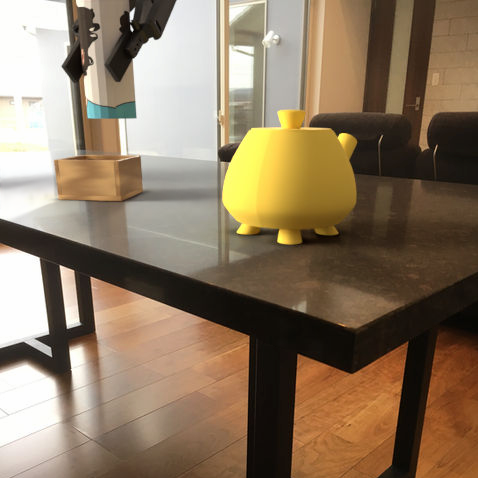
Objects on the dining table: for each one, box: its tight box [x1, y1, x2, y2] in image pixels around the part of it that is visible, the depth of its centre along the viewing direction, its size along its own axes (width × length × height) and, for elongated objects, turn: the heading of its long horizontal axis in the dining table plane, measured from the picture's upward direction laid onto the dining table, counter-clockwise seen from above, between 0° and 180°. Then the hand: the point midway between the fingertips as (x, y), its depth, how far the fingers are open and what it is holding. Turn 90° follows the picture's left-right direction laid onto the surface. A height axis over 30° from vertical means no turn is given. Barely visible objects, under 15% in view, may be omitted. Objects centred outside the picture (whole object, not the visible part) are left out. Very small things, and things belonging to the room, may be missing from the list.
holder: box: [53, 154, 144, 202], centre depth 89 cm, size 11×11×6 cm
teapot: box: [222, 109, 358, 245], centre depth 61 cm, size 20×16×14 cm
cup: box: [75, 0, 138, 120], centre depth 70 cm, size 7×7×15 cm
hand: (90, 73), depth 68 cm, fingers closed on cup, 7 cm apart
